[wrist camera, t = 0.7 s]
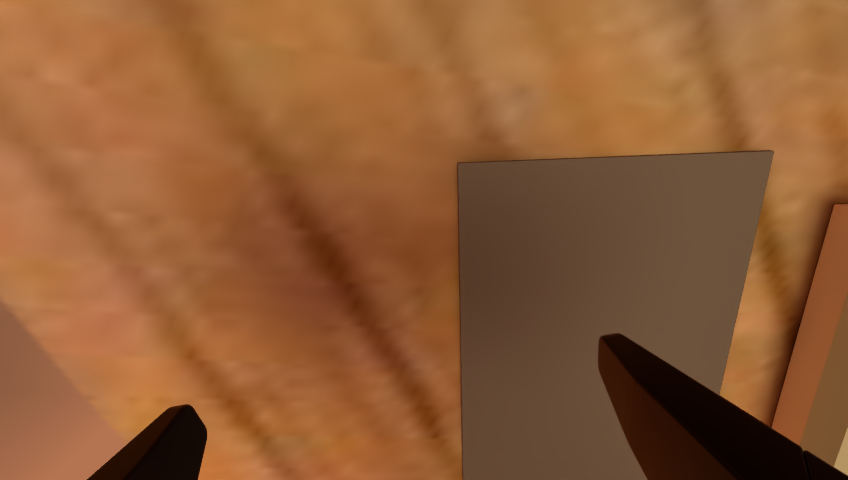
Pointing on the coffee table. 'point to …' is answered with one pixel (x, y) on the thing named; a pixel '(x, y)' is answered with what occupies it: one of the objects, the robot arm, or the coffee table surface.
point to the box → (815, 329)
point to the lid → (831, 404)
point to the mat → (592, 296)
